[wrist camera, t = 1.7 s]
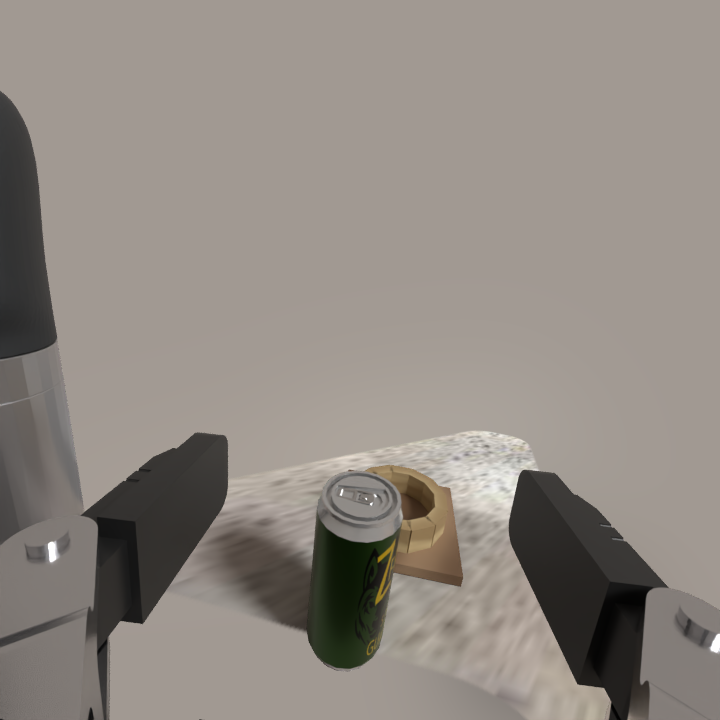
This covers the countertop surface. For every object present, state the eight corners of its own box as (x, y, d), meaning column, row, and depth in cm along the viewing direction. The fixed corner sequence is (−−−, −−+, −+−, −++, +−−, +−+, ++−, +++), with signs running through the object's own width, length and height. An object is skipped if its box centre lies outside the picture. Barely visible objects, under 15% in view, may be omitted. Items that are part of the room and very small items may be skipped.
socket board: (323, 557, 32) (326, 525, 31) (347, 476, 43) (350, 451, 42) (460, 586, 30) (469, 554, 29) (448, 495, 42) (454, 469, 41)
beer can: (295, 665, 23) (306, 516, 20) (317, 591, 28) (330, 462, 25) (376, 687, 23) (403, 537, 19) (384, 607, 28) (407, 477, 24)
